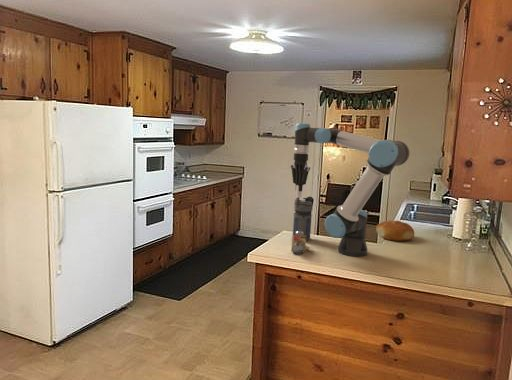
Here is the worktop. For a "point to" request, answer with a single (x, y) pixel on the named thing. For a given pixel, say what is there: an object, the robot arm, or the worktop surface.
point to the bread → (395, 231)
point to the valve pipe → (298, 245)
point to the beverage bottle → (303, 216)
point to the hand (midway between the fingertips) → (298, 197)
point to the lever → (298, 235)
